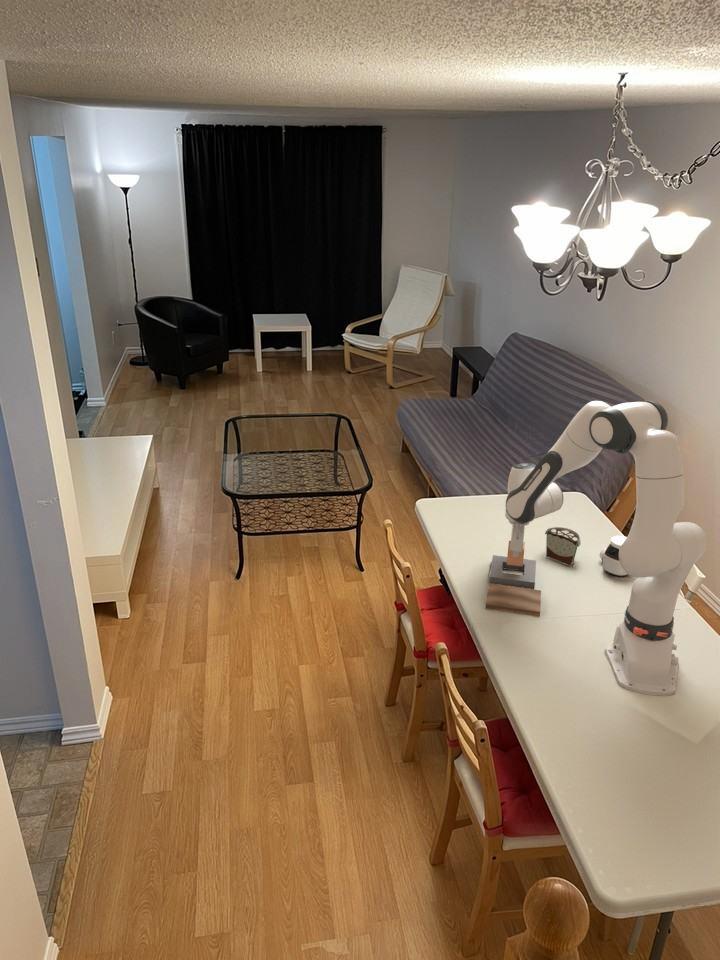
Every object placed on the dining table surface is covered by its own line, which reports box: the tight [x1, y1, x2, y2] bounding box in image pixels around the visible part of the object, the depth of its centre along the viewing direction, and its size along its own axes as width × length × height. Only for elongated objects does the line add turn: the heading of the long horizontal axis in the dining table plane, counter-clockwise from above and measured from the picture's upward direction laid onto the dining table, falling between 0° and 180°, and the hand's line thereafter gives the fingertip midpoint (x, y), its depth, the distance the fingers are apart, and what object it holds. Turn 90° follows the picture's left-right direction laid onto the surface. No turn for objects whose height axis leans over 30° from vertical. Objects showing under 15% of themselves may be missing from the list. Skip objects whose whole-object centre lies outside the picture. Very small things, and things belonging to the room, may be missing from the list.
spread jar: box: [599, 535, 629, 578], centre depth 240 cm, size 12×11×12 cm
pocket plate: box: [488, 554, 537, 590], centre depth 237 cm, size 14×14×2 cm
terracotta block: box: [506, 540, 526, 566], centre depth 234 cm, size 5×5×6 cm
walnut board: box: [484, 582, 542, 617], centre depth 223 cm, size 12×16×2 cm
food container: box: [544, 526, 582, 567], centre depth 246 cm, size 12×6×10 cm, turn 47°
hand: (516, 551), depth 234 cm, fingers closed on terracotta block, 5 cm apart
